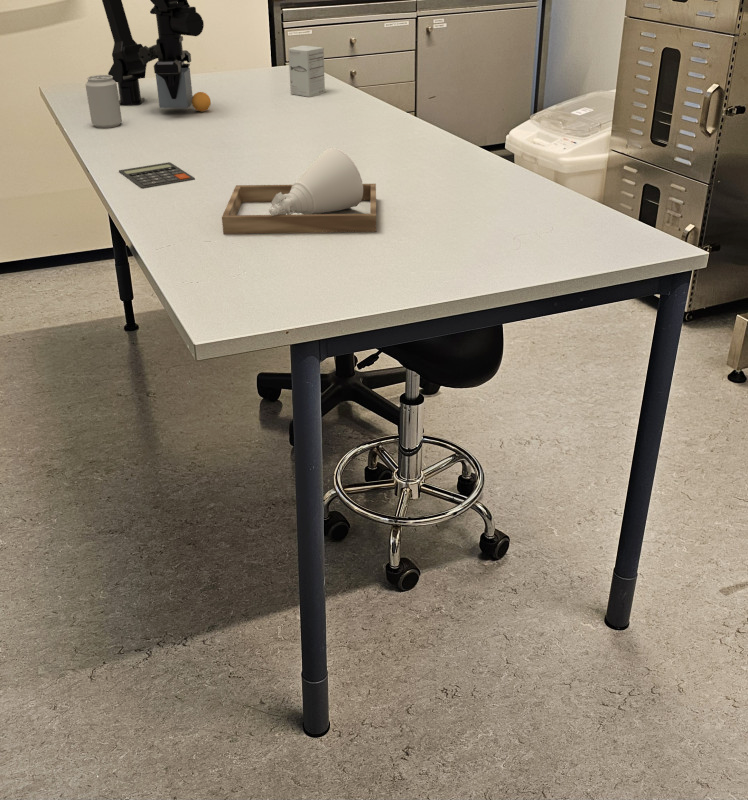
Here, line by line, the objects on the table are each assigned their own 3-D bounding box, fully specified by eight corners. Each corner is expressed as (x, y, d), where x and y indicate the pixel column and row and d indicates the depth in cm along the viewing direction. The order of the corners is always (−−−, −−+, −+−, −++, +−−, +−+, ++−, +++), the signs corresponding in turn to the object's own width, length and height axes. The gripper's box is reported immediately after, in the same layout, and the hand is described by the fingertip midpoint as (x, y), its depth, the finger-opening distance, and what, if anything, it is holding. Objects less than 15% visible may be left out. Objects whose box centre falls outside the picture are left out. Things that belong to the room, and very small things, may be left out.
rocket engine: (258, 174, 158) (335, 136, 166) (239, 205, 168) (312, 167, 176) (297, 230, 158) (372, 188, 167) (276, 257, 168) (347, 216, 177)
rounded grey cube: (165, 101, 250) (161, 67, 245) (193, 101, 250) (189, 67, 245) (159, 108, 243) (155, 73, 239) (187, 107, 243) (184, 72, 239)
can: (118, 128, 232) (110, 79, 226) (88, 128, 232) (80, 79, 226) (125, 121, 238) (118, 73, 232) (96, 121, 238) (89, 73, 232)
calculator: (141, 186, 187) (118, 169, 198) (141, 191, 187) (118, 173, 198) (195, 177, 192) (169, 161, 203) (195, 181, 192) (170, 165, 204)
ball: (195, 87, 247) (214, 93, 248) (191, 105, 249) (209, 111, 250) (192, 91, 242) (210, 97, 243) (188, 109, 245) (206, 116, 246)
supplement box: (289, 94, 265) (287, 48, 259) (306, 90, 270) (304, 44, 264) (309, 97, 261) (307, 50, 255) (326, 93, 266) (324, 46, 260)
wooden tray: (237, 200, 179) (235, 185, 178) (376, 198, 179) (375, 183, 178) (223, 233, 163) (221, 217, 161) (376, 231, 163) (376, 215, 161)
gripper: (146, 28, 246) (154, 89, 254) (129, 39, 230) (138, 103, 237) (188, 28, 246) (194, 88, 253) (174, 38, 229) (181, 103, 237)
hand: (176, 95), depth 245 cm, fingers closed on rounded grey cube, 7 cm apart
